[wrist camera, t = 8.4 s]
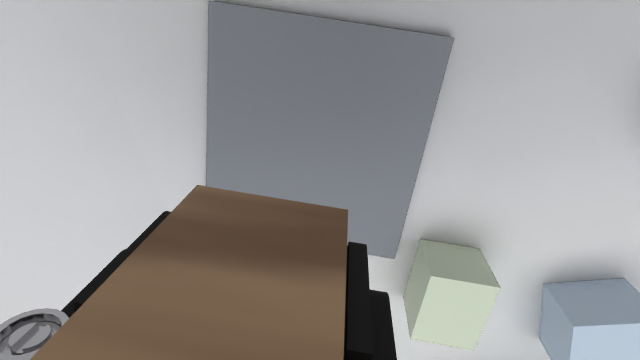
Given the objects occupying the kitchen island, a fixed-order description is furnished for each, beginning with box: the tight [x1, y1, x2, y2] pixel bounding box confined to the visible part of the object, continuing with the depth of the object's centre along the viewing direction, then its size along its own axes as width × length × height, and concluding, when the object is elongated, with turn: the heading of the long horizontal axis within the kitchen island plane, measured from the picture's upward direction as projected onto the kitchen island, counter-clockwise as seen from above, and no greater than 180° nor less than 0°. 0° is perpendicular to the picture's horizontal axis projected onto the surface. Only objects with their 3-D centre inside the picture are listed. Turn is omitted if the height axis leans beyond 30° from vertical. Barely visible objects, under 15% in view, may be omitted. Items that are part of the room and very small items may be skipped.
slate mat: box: [206, 1, 454, 259], centre depth 22 cm, size 14×13×1 cm
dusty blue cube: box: [539, 278, 640, 360], centre depth 24 cm, size 5×5×4 cm
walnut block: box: [30, 185, 348, 360], centre depth 9 cm, size 4×4×7 cm
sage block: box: [403, 239, 501, 350], centre depth 24 cm, size 5×4×4 cm
